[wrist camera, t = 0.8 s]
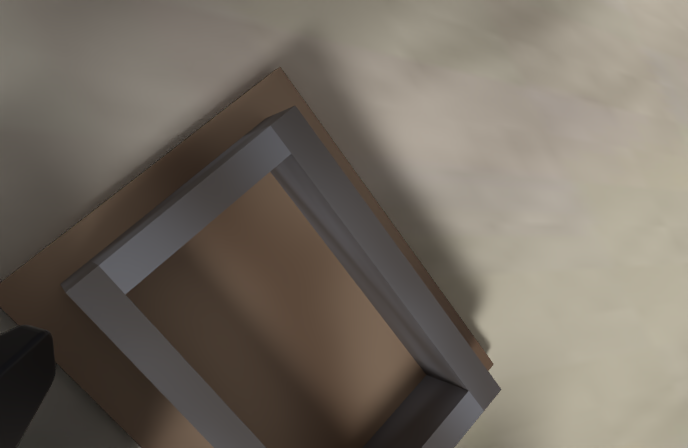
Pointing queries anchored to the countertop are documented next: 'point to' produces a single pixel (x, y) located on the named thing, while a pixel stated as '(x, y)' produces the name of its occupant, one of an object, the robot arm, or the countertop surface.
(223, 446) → the socket board
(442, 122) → the countertop surface
